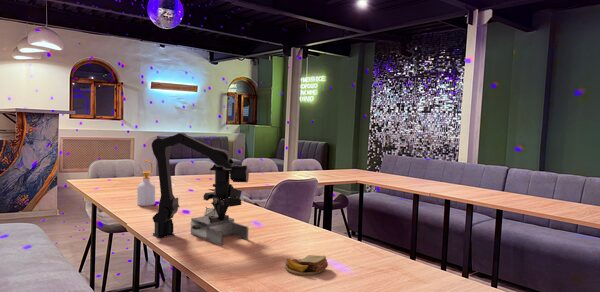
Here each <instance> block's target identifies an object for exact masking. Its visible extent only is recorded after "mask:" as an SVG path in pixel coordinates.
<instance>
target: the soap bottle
mask: <svg viewBox="0 0 600 292" xmlns="http://www.w3.org/2000/svg"><path fill="white" fill-rule="evenodd" d="M142 161H143V162H145V163H149V164H150V171H141V174H143V175H144V177H142V178H143V179H142V182H140V183H139V184H138V185H137V186H136V188H137V190H136V193H137V198H136V199H137V205H138V206H140V207H149V206H154V205H155V204H156V185H155V184H154V183H153V182H151V181H150V178H151V177H149V175H150V174H151V173H153V163H152V162H151V161H149V160H147V159H142Z"/></svg>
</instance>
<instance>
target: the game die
mask: <svg viewBox="0 0 600 292" xmlns="http://www.w3.org/2000/svg"><path fill="white" fill-rule="evenodd" d="M215 214H217V212H216V210H215V208H214V207H207V206H205V210H204V214H203V216H209V215H215Z"/></svg>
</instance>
